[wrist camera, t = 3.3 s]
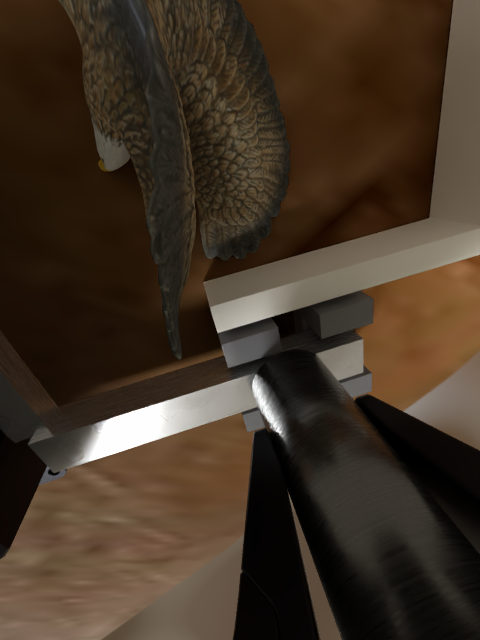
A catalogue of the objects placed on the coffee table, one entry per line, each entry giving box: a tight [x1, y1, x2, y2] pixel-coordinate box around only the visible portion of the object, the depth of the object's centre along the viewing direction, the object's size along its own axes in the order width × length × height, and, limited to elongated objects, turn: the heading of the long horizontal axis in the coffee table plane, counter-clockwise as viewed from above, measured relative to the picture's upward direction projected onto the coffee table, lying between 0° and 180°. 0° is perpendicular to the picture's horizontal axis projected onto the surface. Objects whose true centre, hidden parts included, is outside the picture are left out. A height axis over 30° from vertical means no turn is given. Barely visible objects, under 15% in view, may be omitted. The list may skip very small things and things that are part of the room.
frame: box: [203, 0, 480, 333], centre depth 7 cm, size 11×15×2 cm
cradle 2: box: [293, 291, 373, 397], centre depth 12 cm, size 2×5×3 cm, turn 13°
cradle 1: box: [218, 317, 282, 432], centre depth 11 cm, size 2×5×3 cm, turn 13°
